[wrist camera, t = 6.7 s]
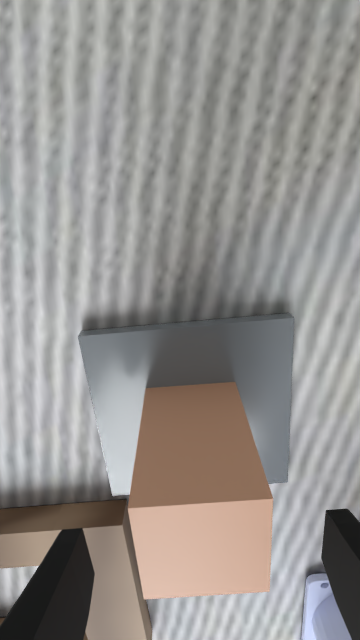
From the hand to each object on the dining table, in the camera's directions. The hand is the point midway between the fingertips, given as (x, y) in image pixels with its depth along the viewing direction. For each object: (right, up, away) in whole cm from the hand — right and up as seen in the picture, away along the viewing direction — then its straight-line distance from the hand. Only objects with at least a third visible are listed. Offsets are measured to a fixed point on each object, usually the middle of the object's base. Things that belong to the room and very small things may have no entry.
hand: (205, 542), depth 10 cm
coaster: (0, +2, +6) cm, 6 cm away
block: (0, +2, +6) cm, 6 cm away
